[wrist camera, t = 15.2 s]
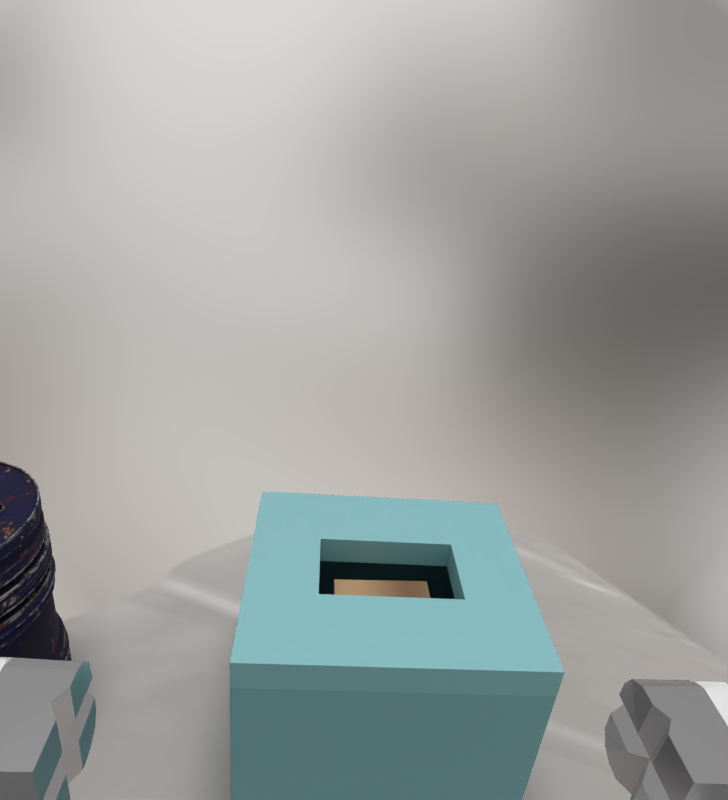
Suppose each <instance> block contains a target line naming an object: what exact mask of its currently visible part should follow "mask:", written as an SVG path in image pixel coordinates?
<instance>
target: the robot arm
mask: <svg viewBox="0 0 728 800" xmlns="http://www.w3.org/2000/svg"><path fill="white" fill-rule="evenodd" d="M91 679H92V676H91V670H90V665H89V662H78V661H61V660H45V659H29V658H13V657H0V800H70V795H69V788H68V783H69V782H70V781H71V780H72V779H73V778H74V777H75V776H76V775H77V774H79V773H80V772H81V771H82V770H83V768H84V765H85V762H86V759H87V756H88V753H89V750H90V747H91V742H92V738H93V733H94V728H95V717H96V707H95V699H94V698H93V697H92V696H91V695H90V694H89V693H87V692H86V691H87V689H88V686H89V684H90V681H91ZM619 695H620V697H621V699H622V701H623V703H624V705H622V706H621V707H619V708H618V709H616V710H615V711H614V712H612V713H611V714H610V717H609V719H608V722H607V725H606V727H605V747H606V751H607V756H608V760H609V763H610V766H611V768H612V771H613V773H614V776H615V778H616V780H618V781H619V782H620V783H621V784H622V785H623V786H624V787H625V788H626V789H627V790H628V791H629V792H630V793H631V794H632V795H631V800H728V684H726V683H725V682H706V681H689V680H653V679H631V680H630V681H628V682H626V683H625V684H624V686H623V688H622V690H621V692H620V694H619Z"/></svg>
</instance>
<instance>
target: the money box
mask: <svg viewBox="0 0 728 800" xmlns="http://www.w3.org/2000/svg"><path fill="white" fill-rule="evenodd" d="M334 579H341V580H389V581H427V585H428V589H429V594H430V598H411V597H384V596H357V595H333V588H334ZM563 675H564V670H563V668H562V665H561V663H560V660H559V658H558V655H557V653H556V650H555V648H554V645H553V642H552V640H551V637H550V635H549V632H548V630H547V627H546V625H545V622H544V620H543V617H542V615H541V612H540V610H539V607H538V605H537V602H536V600H535V597H534V595H533V592H532V590H531V587H530V585H529V582H528V580H527V577H526V575H525V572H524V570H523V567H522V565H521V562H520V560H519V557H518V555H517V552H516V550H515V547H514V545H513V542H512V540H511V537H510V535H509V532H508V530H507V527H506V525H505V522H504V520H503V517H502V515H501V512H500V510H499V507H498V504H497V503H480V502H460V501H440V500H420V499H400V498H380V497H360V496H340V495H320V494H300V493H280V492H262V496H261V501H260V506H259V511H258V516H257V522H256V527H255V532H254V538H253V543H252V548H251V553H250V559H249V564H248V569H247V575H246V580H245V585H244V590H243V596H242V601H241V606H240V612H239V617H238V622H237V627H236V633H235V638H234V643H233V649H232V654H231V659H230V725H231V800H522V797H523V794H524V791H525V788H526V785H527V782H528V779H529V776H530V773H531V770H532V767H533V764H534V761H535V758H536V755H537V752H538V749H539V746H540V743H541V740H542V737H543V734H544V732H545V729H546V726H547V723H548V720H549V717H550V714H551V711H552V708H553V705H554V702H555V699H556V696H557V693H558V690H559V687H560V684H561V681H562V678H563Z"/></svg>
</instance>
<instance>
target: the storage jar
mask: <svg viewBox="0 0 728 800" xmlns="http://www.w3.org/2000/svg"><path fill="white" fill-rule="evenodd" d="M55 570H56V569H55V561H54V558H53V556H52V548H51V542H50V535H49V530H48V527H47V525H46V523H45V521H44V515H43V511H42V508H41V499H40V493H39V488H38V486H37V483H36V481H35V480H34V479H33V478H32V476H31V475H30V474H28V473H27V472H25V471H24V470H22V469H21V468H18V467H16V466H14V465H11V464H8V463H4V462H1V461H0V657H13V658H29V659H45V660H61V661H72V660H71V654H70V649H69V640H68V634H67V632H66V629H65V627H64V624H63V622H62V619H61V618H60V616H59V615H58V613H57V612H56V610H55V605H54V599H53V593H52V592H53V589H54V583H55Z"/></svg>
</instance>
